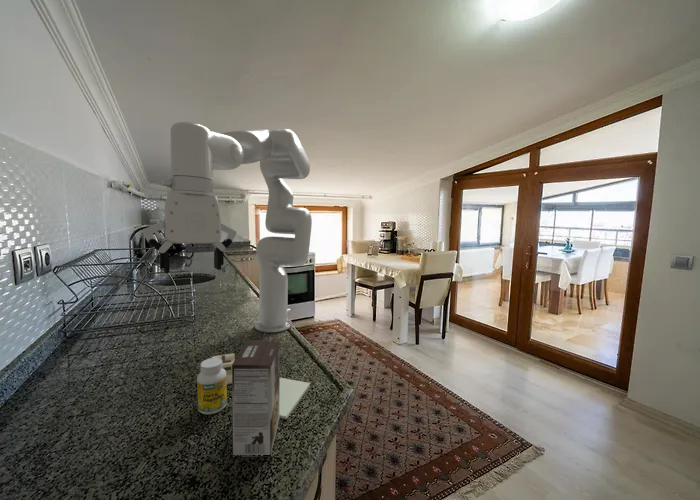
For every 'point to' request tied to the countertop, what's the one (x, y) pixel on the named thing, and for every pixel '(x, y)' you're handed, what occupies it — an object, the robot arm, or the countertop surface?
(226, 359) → the letter cube
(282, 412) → the sage pad
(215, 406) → the supplement bottle
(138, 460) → the countertop surface
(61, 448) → the countertop surface
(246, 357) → the coffee box
